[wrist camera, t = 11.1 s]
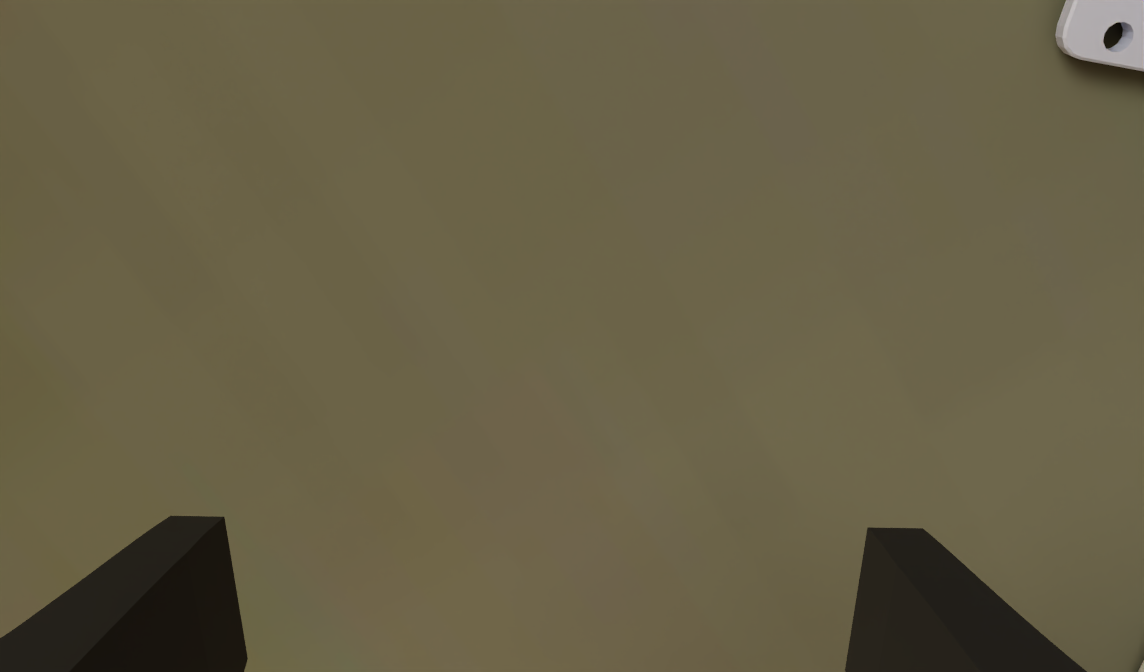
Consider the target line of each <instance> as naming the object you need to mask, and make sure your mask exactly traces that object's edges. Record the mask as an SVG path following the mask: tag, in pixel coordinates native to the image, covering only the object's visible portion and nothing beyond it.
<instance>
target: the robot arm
mask: <svg viewBox="0 0 1144 672" xmlns="http://www.w3.org/2000/svg"><path fill="white" fill-rule="evenodd" d="M1117 22H1120V23H1121V25H1122V27H1123V33H1122V37H1121V39H1120V40H1119V42H1118V43H1117V44H1116V45H1114V46H1113V47H1111V48H1106V47H1105V45H1104V43H1103V40H1104V34H1105V32H1106V31H1107V29H1108V28H1109V27H1110V26H1112V25H1113V24H1115V23H1117ZM1055 36H1056V40H1057V45H1058V47H1059V48H1060V49H1061V50H1062V51H1063V53H1065V54H1067V55H1070V56H1072V57H1074V58H1077V59H1080V60H1085V61H1090V62H1096V63H1101V64H1106V65H1112V66H1117V67H1122V68H1128V69H1133V70H1139V71H1144V0H1066V2H1065V5H1064V7H1063V10H1062V13H1061V16H1060V18H1059V21H1058V24H1057V29H1056V35H1055ZM247 659H248V658H247V652H246V646H245V640H244V634H243V628H242V622H241V616H240V610H239V604H238V597H237V591H236V585H235V579H234V573H233V567H232V561H231V555H230V549H229V543H228V537H227V531H226V525H225V519H224V517H202V516H170V517H168V518H167V519H165V520H164V521H162V522H161V523H159V524H158V525H156V526H155V527H153V528H152V529H150V530H149V531H148V532H146V533H145V534H143V535H142V536H141V537H139V538H138V539H136V540H135V541H134V542H132V543H131V544H130V545H128V546H127V547H125V548H124V549H123V550H121V551H120V552H119V553H117V554H116V555H115V556H113V557H112V558H111V559H109V560H108V561H107V562H105V563H104V564H103V565H101V566H100V567H99V568H97V569H96V570H95V571H93V572H92V573H91V574H89V575H88V576H87V577H85V578H84V579H82V580H81V581H80V582H78V583H77V584H76V585H74V586H73V587H72V588H70V589H69V590H67V591H66V592H65V593H63V594H62V595H61V596H59V597H58V598H56V599H55V600H54V601H52V602H51V603H50V604H48V605H47V606H45V607H44V608H43V609H41V610H40V611H39V612H37V613H36V614H35V615H33V616H32V617H30V618H29V619H28V620H26V621H25V622H24V623H22V624H21V625H19V626H18V627H17V628H15V629H14V630H12V631H11V632H9V633H8V634H6V635H5V636H3V637H2V638H0V672H244V669H245V666H246V663H247ZM845 671H846V672H1087V671H1085V670H1084V669H1083V668H1082V667H1080V666H1079V665H1078V664H1077V663H1076V662H1074V661H1073V660H1072V659H1071V658H1069V657H1068V656H1067V655H1066V654H1065V653H1064V652H1062V651H1061V650H1060V649H1059V648H1058V647H1056V646H1055V645H1054V644H1053V643H1052V642H1050V641H1049V640H1048V639H1047V638H1046V637H1045V636H1044V635H1042V634H1041V633H1040V632H1039V631H1038V630H1037V629H1035V628H1034V627H1033V626H1032V625H1031V624H1030V623H1028V622H1027V621H1026V620H1025V619H1024V618H1023V617H1022V616H1021V615H1019V614H1018V613H1017V612H1016V611H1015V610H1014V609H1013V608H1011V607H1010V606H1009V605H1008V604H1007V603H1006V602H1005V601H1004V600H1002V599H1001V598H1000V597H999V596H998V595H997V594H996V593H995V592H994V591H993V590H991V589H990V588H989V587H988V586H987V585H986V584H985V583H984V582H983V581H981V580H980V579H979V578H978V577H977V576H976V575H975V574H974V573H973V572H971V571H970V570H969V569H968V568H967V567H966V566H965V565H964V564H963V563H962V562H960V561H959V560H958V559H957V558H956V557H955V556H954V555H953V554H952V553H950V552H949V551H948V550H947V549H946V548H945V547H944V546H943V545H942V544H940V543H939V542H938V541H937V540H936V539H935V538H933V537H932V536H931V535H930V534H929V533H928V532H926V531H925V530H924V529H918V528H868V529H867V535H866V541H865V548H864V554H863V560H862V567H861V573H860V579H859V586H858V592H857V598H856V605H855V611H854V617H853V624H852V630H851V636H850V643H849V649H848V655H847V662H846V668H845Z"/></svg>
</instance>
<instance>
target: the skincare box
mask: <svg viewBox="0 0 1144 672" xmlns="http://www.w3.org/2000/svg"><path fill="white" fill-rule="evenodd" d="M1138 672H1144V660H1143V663H1142V665H1141V667H1140V669H1139V671H1138Z"/></svg>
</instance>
